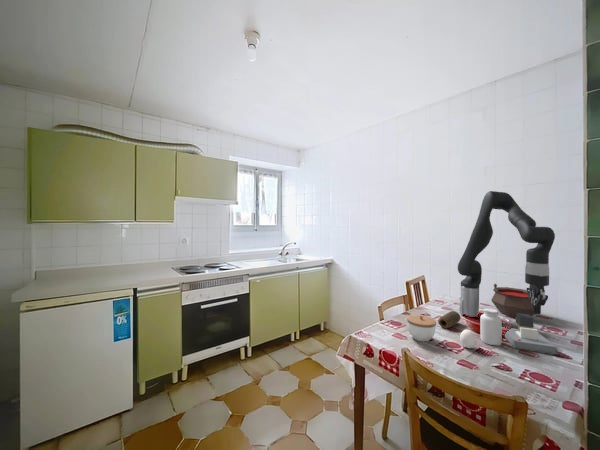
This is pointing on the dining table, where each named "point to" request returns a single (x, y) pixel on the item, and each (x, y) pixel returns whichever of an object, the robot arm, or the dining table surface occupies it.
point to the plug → (524, 320)
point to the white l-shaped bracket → (528, 333)
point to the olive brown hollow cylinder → (449, 319)
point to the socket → (529, 342)
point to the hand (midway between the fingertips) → (536, 313)
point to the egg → (468, 339)
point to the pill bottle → (491, 327)
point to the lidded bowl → (421, 327)
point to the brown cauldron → (512, 301)
